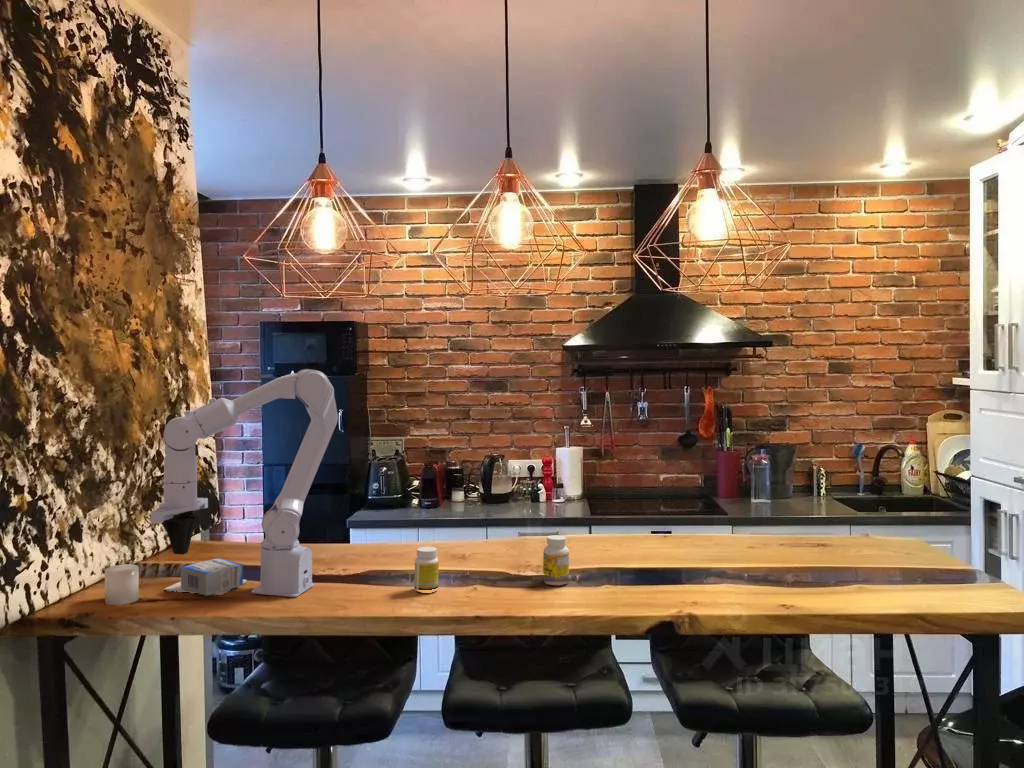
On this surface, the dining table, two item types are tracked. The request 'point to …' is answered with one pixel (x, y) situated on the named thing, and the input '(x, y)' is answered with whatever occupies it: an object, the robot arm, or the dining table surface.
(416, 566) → the supplement bottle
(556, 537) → the supplement bottle
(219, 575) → the medicine box
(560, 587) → the dining table surface
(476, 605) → the dining table surface
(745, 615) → the dining table surface
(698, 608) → the dining table surface
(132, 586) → the white rounded cylinder
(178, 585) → the mat
